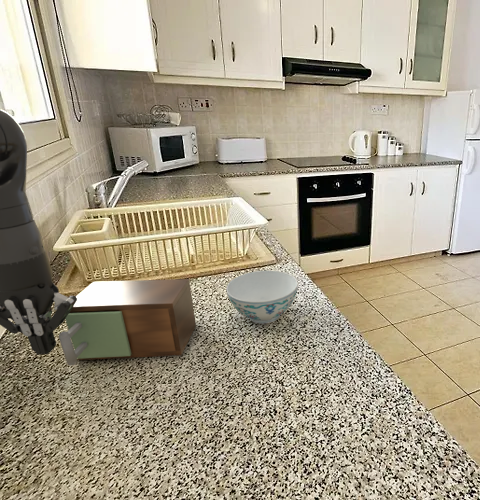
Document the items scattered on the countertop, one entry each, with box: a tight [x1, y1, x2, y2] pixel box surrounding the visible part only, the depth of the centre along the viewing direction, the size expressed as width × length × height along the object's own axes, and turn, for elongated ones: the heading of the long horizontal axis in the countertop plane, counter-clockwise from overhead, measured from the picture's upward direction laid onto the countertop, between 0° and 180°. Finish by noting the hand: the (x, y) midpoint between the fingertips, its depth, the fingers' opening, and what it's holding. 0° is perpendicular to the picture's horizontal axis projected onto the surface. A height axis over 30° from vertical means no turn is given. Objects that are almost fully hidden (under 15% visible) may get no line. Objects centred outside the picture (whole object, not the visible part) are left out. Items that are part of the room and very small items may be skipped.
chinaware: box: [225, 269, 299, 325], centre depth 82 cm, size 15×15×8 cm
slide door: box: [58, 311, 131, 367], centre depth 63 cm, size 9×5×9 cm, turn 96°
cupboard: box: [69, 278, 197, 361], centre depth 71 cm, size 18×10×11 cm, turn 96°
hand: (45, 351), depth 61 cm, fingers closed
